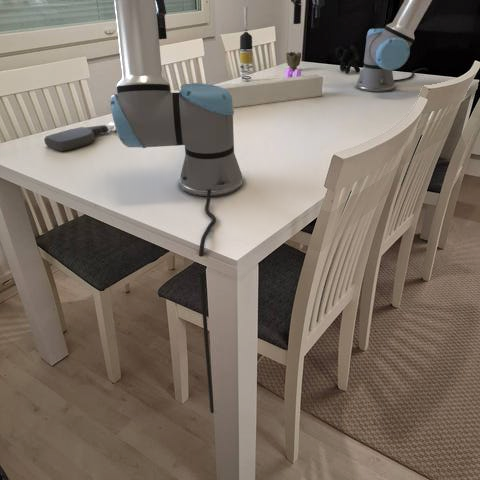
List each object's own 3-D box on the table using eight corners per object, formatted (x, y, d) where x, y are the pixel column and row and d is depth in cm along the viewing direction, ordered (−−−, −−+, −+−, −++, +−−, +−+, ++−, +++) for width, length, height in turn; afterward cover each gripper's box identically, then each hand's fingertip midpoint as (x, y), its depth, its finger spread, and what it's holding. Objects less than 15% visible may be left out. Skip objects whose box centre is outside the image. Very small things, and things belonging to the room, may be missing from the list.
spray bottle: (43, 145, 135) (109, 126, 151) (63, 153, 129) (130, 132, 145) (40, 136, 134) (108, 117, 150) (60, 143, 128) (129, 123, 144)
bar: (147, 119, 157) (144, 97, 153) (144, 115, 161) (141, 94, 157) (321, 95, 179) (323, 76, 175) (314, 92, 184) (316, 74, 180)
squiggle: (349, 83, 219) (328, 64, 222) (365, 68, 218) (343, 49, 221) (351, 72, 208) (328, 52, 210) (368, 57, 207) (344, 36, 210)
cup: (283, 70, 221) (283, 53, 217) (288, 68, 227) (289, 51, 222) (297, 72, 218) (298, 54, 214) (302, 69, 224) (303, 52, 219)
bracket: (296, 87, 192) (296, 70, 189) (285, 85, 195) (285, 68, 192) (310, 81, 201) (311, 65, 197) (300, 79, 204) (300, 63, 200)
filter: (254, 81, 203) (254, 7, 187) (243, 82, 201) (242, 7, 185) (249, 78, 208) (249, 6, 192) (238, 79, 206) (237, 6, 190)
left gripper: (171, -40, 128) (178, 40, 139) (152, -39, 148) (159, 31, 159) (146, -40, 126) (154, 42, 137) (129, -39, 145) (138, 32, 157)
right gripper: (338, -43, 146) (332, 28, 157) (301, -42, 165) (298, 21, 177) (318, -43, 143) (314, 30, 155) (283, -42, 163) (281, 22, 174)
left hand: (157, 36), depth 148 cm, fingers open, 13 cm apart
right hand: (305, 25), depth 166 cm, fingers open, 13 cm apart
